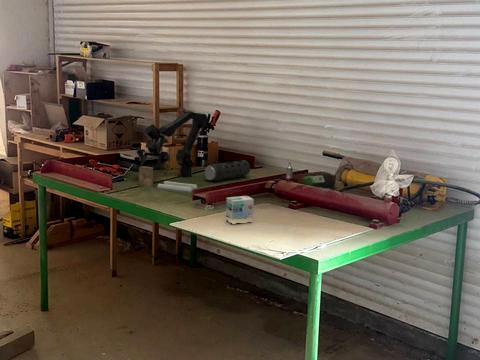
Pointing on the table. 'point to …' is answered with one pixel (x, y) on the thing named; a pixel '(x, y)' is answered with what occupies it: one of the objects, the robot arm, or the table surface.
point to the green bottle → (316, 179)
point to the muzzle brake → (227, 170)
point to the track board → (177, 187)
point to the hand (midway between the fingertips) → (148, 167)
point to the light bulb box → (239, 207)
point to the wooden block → (146, 176)
